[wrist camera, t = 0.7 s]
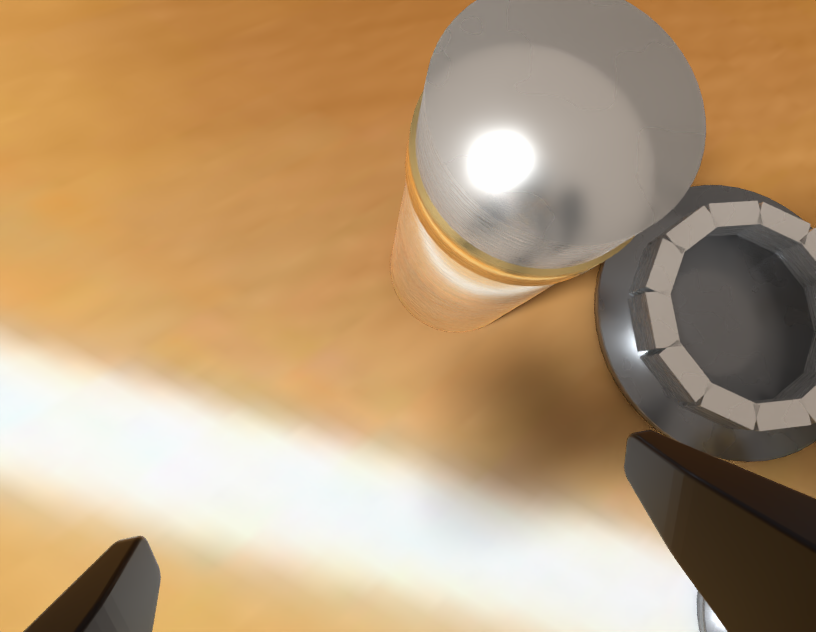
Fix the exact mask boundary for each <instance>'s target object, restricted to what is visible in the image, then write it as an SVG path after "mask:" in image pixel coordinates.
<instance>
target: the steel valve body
mask: <svg viewBox="0 0 816 632" xmlns="http://www.w3.org/2000/svg"><path fill="white" fill-rule="evenodd" d="M705 137H706V118H705V111H704V105H703V99H702V96H701V93H700V89H699V86H698V83H697V81H696V78H695V76H694V74H693V71H692V69H691V67H690V65H689V64H688V62H687V60H686V58H685V57H684V55H683V53H682V52H681V51H680V49H679V48H678V47H677V45H676V44H675V43H674V41H673V40H672V39H671V37H670V36H669V35H668V34H667V33H666V32H665V31H664V30H663V29H662V28H661V27H660V26H659V25H658V24H657V23H656V22H655V21H653V20H652V19H651V18H650V17H649V16H648V15H646V14H645V13H644V12H642V11H641V10H639V9H638V8H636V7H635V6H633V5H632V4H630V3H628V2H627V1H625V0H477V1H475V2H474V3H472V4H470V5H469V6H468V7H467V8H466V9H464V10H463V11H462V12H461V13H460V14H459V15H458V16H457V17H456V18H455V19H454V20H453V21H452V23H451V24H450V25H449V26H448V27H447V29H446V30H445V32H444V33H443V35H442V36H441V38H440V40H439V41H438V43H437V45H436V48H435V50H434V53H433V55H432V57H431V60H430V64H429V68H428V72H427V77H426V82H425V87H424V91H423V92H422V94H421V96H420V98H419V101H418V103H417V105H416V108H415V111H414V115H413V119H412V123H411V128H410V133H409V139H408V145H407V152H406V161H405V169H406V183H405V188H404V193H403V198H402V203H401V208H400V213H399V219H398V224H397V229H396V234H395V239H394V244H393V249H392V254H391V262H390V273H391V279H392V283H393V286H394V290H395V292H396V294H397V296H398V298H399V300H400V301H401V303H402V304H403V306H404V307H405V308H406V309H407V310H408V311H409V312H410V313H411V314H412V315H413V316H414V317H415V318H416V319H418V320H419V321H421V322H422V323H424V324H426V325H428V326H430V327H432V328H435V329H438V330H442V331H446V332H468V331H473V330H476V329H480V328H482V327H484V326H486V325H488V324H490V323H492V322H493V321H495V320H496V319H498V318H500V317H501V316H503V315H505V314H506V313H508V312H510V311H511V310H513V309H515V308H516V307H518V306H520V305H521V304H523V303H525V302H526V301H528V300H529V299H531V298H533V297H534V296H536V295H538V294H539V293H541V292H543V291H544V290H546V289H548V288H549V287H551V286H553V285H554V284H556V283H559V282H563V281H566V280H570V279H572V278H574V277H576V276H578V275H581V274H583V273H585V272H586V271H588V270H590V269H592V268H593V267H595V266H597V265H598V264H600V263H602V262H604V261H605V260H607V259H608V258H610V257H612V256H613V255H615V254H616V253H618V252H619V251H620V250H621V249H623V248H624V247H625V246H626V245H627V244H628V243H630V241H631V240H632V239H633V238H634V237H635V236H636V235H637V234H638V233H640V232H642V231H643V230H645V229H647V228H648V227H650V226H651V225H653V224H655V223H656V222H658V221H659V220H661V219H662V218H663V217H664V216H665V215H667V214H668V213H669V212H670V211H671V210H672V209H674V207H675V206H676V205H677V204H678V203H679V202H680V200H681V199H682V198H683V197H684V196H685V194H686V193H687V191H688V189H689V188H690V186H691V184H692V183H693V181H694V179H695V176H696V174H697V172H698V169H699V167H700V164H701V160H702V156H703V152H704V146H705Z"/></svg>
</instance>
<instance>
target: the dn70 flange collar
mask: <svg viewBox="0 0 816 632" xmlns="http://www.w3.org/2000/svg"><path fill="white" fill-rule="evenodd" d="M594 314H595V323H596V331H597V335H598V340H599V344H600V348H601V351H602V353H603V356H604V359H605V362H606V364H607V367H608V369H609V371H610V373H611V375H612V377H613V379H614V381H615V382H616V384H617V386H618V387H619V389H620V390H621V392H622V393H623V395H624V396H625V398H626V399H627V400H628V401H629V403H630V404H631V405H632V406H633V407H634V409H635V410H636V411H637V412H638V413H639V414H640V415H641V416H642V417H643V418H644V419H645V420H646V421H647V422H648V423H649V424H651V425H652V426H653V427H654V428H655V429H657V430H658V431H659V432H661V433H662V434H664V435H665V436H666V437H668V438H671V439H673V440H676V441H678V442H680V443H683V444H685V445H688V446H690V447H692V448H695V449H697V450H700V451H702V452H704V453H707V454H709V455H712V456H714V457H716V458H721V459H726V460H735V461H746V462H751V461H766V460H771V459H776V458H781V457H784V456H787V455H790V454H792V453H795V452H798V451H800V450H801V449H803V448H805V447H807V446H808V445H810V444H812V443H814V442H815V441H816V228H813V229H812V228H811V227H810V223H807V222H805V221H803V220H802V219H801V218H800V217H799V216H797V215H796V214H794V213H793V212H792V211H790V210H789V209H787V208H786V207H784V206H782V205H781V204H779V203H777V202H775V201H773V200H771V199H770V198H767V197H765V196H762V195H760V194H757V193H755V192H752V191H748V190H744V189H740V188H736V187H729V186H722V185H702V186H694V187H690V188H689V189H688V191H687V193H686V194H685V196H684V197H683V198H682V199H681V200H680V202H679V203H678V204H677V205H676V206H675V207H674V209H672V210H671V211H670V212H669V213H668V214H667V215H665V216H664V217H663V218H662V219H661V220H659V221H658V222H656V223H655V224H653V225H651V226H650V227H648V228H647V229H645V230H643V231H642V232H640V233H638V234H637V235H636V236H635V237H634V238H633V239H632V240H631V241H630V243H628V244H627V245H626V246H625V247H624V248H623V249H621V250H620V251H619V252H618V253H616V254H615V255H613V256H612V257H610V258H608V259H607V260H605V261H604V262H602V263H601V266H600V269H599V272H598V276H597V281H596V288H595V300H594Z"/></svg>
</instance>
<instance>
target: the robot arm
mask: <svg viewBox="0 0 816 632" xmlns="http://www.w3.org/2000/svg"><path fill="white" fill-rule="evenodd" d="M624 469H625V474H626V477H627V479H628V481H629V483H630V484H631V486H632V488H633V489H634V491H635V493H636V495H637V496H638V498H639V500H640V501H641V503H642V505H643V507H644V508H645V510H646V512H647V513H648V515H649V517H650V518H651V520H652V522H653V524H654V525H655V527H656V529H657V530H658V532H659V534H660V536H661V537H662V539H663V541H664V542H665V544H666V545H667V547H668V549H669V550H670V552H671V553H672V555H673V556H674V558H675V559H676V560H677V562H678V563H679V565H680V566H681V568H682V569H683V570H684V572H685V573H686V575H687V576H688V577H689V579H690V580H691V581H692V583H693V584H694V586H695V587H696V588H697V590H698V591H699V593H700V594H701V595H702V597H703V598H704V600H705V601H706V602H707V604H708V605H709V607H710V608H711V609H712V611H713V612H714V613H715V615H716V616H717V618H718V619H719V620H720V622H721V623H722V625H723V626H724V627H725V629H726V630H727V632H816V499H815V498H812V497H810V496H807V495H805V494H803V493H800V492H798V491H795V490H793V489H791V488H788V487H786V486H784V485H781V484H779V483H776V482H774V481H772V480H769V479H767V478H764V477H762V476H760V475H757V474H755V473H752V472H750V471H748V470H745V469H743V468H740V467H738V466H736V465H733V464H731V463H728V462H726V461H724V460H721V459H719V458H716V457H714V456H712V455H709V454H707V453H704V452H702V451H700V450H697V449H695V448H692V447H690V446H688V445H685V444H683V443H680V442H678V441H676V440H673V439H671V438H668V437H666V436H664V435H661V434H659V433H656V432H654V431H651V430H646V431H641V432H636V433H632V434H630V435H629V437H628V438H627V445H626V455H625V464H624ZM160 578H161V576H160V569H159V566H158V564H157V562H156V559H155V557H154V555H153V552H152V550H151V548H150V546H149V543H148V541H147V540H146V538H144V537H143V536H136V537H131V538H126V539H122V540H119V541H117V542H115V543H114V544H113V545H112V546H111V547H110V548H108V549H107V550H106V551H105V552H104V553H103V554H102V555H101V556H100V557H99V558H98V559H97V560H96V561H95V562H94V563H93V564H92V565H91V566H90V567H89V568H88V569H87V570H86V571H85V572H84V573H83V574H82V575H81V576H80V577H79V578H78V579H77V580H76V581H75V582H74V583H73V584H72V585H71V586H70V587H69V588H68V589H66V590H65V591H64V592H63V593H62V594H61V595H60V596H59V597H58V598H57V599H56V600H55V601H54V602H53V603H52V604H51V605H50V606H49V607H48V608H47V609H46V610H45V611H44V612H43V613H42V614H41V615H40V616H39V617H38V618H37V619H36V620H35V621H34V622H33V623H32V624H31V625H30V626H29V627H28V628H27V629H26V630H24V631H23V632H152V630H153V624H154V618H155V612H156V605H157V599H158V593H159V587H160Z"/></svg>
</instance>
